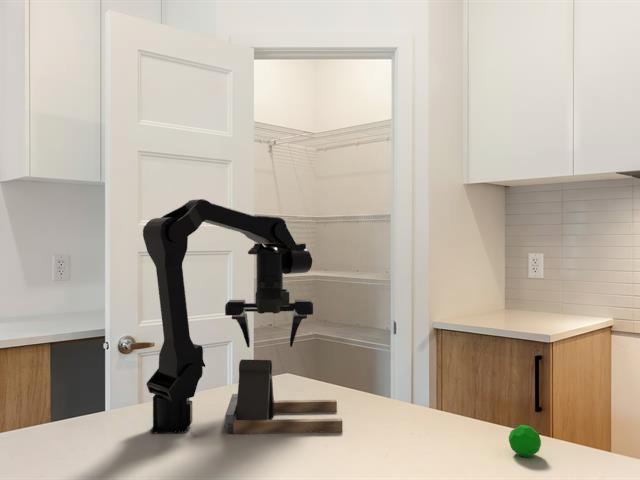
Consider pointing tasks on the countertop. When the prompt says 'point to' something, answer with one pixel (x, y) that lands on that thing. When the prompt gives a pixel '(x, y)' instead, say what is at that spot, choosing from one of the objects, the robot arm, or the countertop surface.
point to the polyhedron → (524, 441)
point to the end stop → (231, 413)
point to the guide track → (292, 424)
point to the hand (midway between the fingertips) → (269, 346)
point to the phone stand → (255, 390)
